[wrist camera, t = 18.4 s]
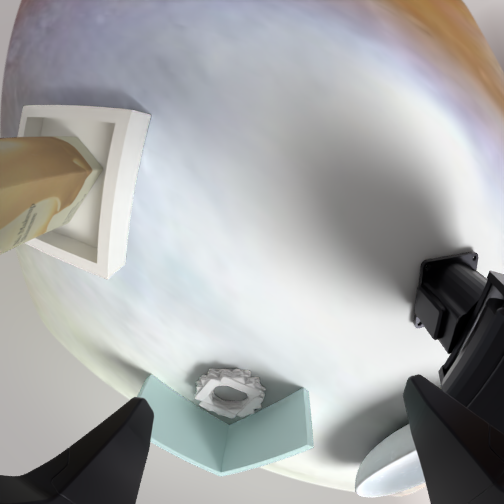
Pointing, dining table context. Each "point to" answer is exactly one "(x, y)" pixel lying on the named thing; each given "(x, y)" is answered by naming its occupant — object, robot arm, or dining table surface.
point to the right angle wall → (221, 434)
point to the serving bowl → (390, 466)
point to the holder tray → (104, 189)
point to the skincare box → (41, 185)
